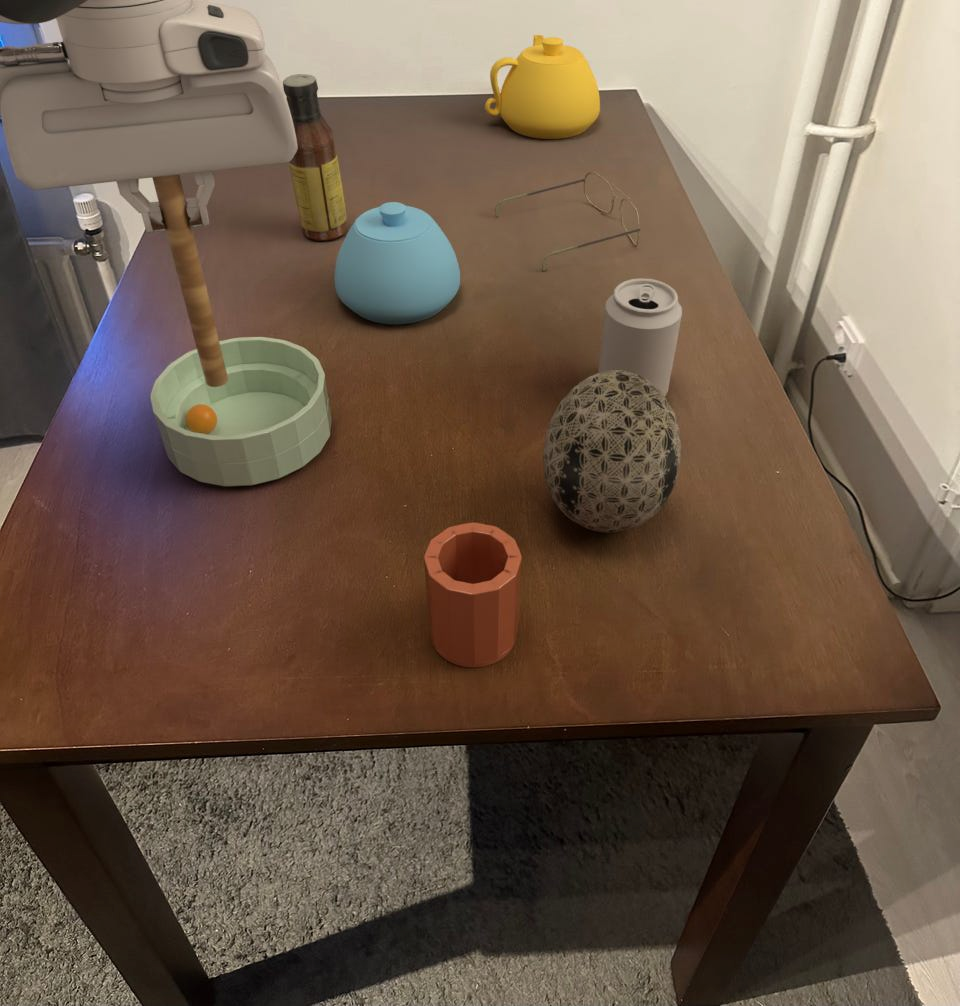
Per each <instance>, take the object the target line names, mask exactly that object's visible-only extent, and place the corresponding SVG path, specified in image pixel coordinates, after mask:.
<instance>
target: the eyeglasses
mask: <svg viewBox="0 0 960 1006" xmlns="http://www.w3.org/2000/svg"><path fill="white" fill-rule="evenodd" d="M590 174H593V175H596V176H598V178H600V179H602V180H603V181H604V182H605V183H606V184H607V185H608V187H609V188H610V190H611V193H612V199H611V202H610V203H611V204H612V205H611V209H610V211H605V210H603V209H602V208H600V207H598V206H596V205H595V204H594V203H593V202H592V201H591V200H590V199H589V197H588V196H587V191H586V181H587V177H588V175H590ZM579 183H583V193H584V197H585V199H586V201H587V202H588V203H589V204H590V205H591V206H593V208H596V209H597V210H599V211H600V212H602V213H604V214H611V213H612V212H613V210H614V205H615V198H617V199H618V200H619V201H621V202H620V206H619V208H618V210H620V218H621V219H620V220H621V224H622V226H623V229H624V231H625V232H621V233H618V234H614V235H611V236H608V237H604V238H601V239H597V240H593V241H590V242H586V243H582V244H578V245H574V246H570V247H566V248H562V249H559V250H556V251H552V252H549V253H547V254H546V255H545V256H544V258H543V260H542V262H541V265H542V266H541V270H542V272H546V271H547V263H546V262H547V260H548V259H549V258H550V257H552V256H556V255H559V254H562V253H566V252H569V251H573V250H577V249H580V248H583V247H587V246H590V245H594V244H598V243H602V242H605V241H609V240H613V239H616V238H618V237H619V238H620V237H623V236H628V238H629V239H630V240H631V242H632V244H633V246H635V247H638V245H639V243H640V231H641V228H640V217H639V212H638V209H637V207H636V206H635V205H634V204H633V203H632V201H631V198H630V197H628V196H627V195H626V194H625V193H624V192H623V191H621V189H619V188H618V187H617V186H616V185H615V184H613V183H612V181H608V180H607V179H606V178H604V177H603V176H602V175H601V174H599V173H597V172H594V171H589V172H587V173H586V174H585V175H584V178H582V179H578V180H574V181H571V182H566V183H562V184H559V185H555V186H551V187H546V188H544V189H540V190H536V191H533V192H532V191H531V192H528V193H522V194H519V195H515V196H511V197H508V198H505V199H501V200H500V201H498V202H497V203H496V205H495V207H494V217H495V218H499V217H500V213H499V207H500V205H502V204H503V203H506V202H511V201H514V200H518V199H522V198H527V197H529V196H534V195H537V194H541V193H544V192H548V191H552V190H557V189H560V188H563V187H568V186H571V185H575V184H579ZM612 186H613V187H614V188H615V189H616V190H618V191H619V192H620V193H621V194H623V196H624V197H626V198H622V199H621V198H620V197H619V196H618V195H615V193H614V192H615V191H614V189H613V187H612ZM624 201H627V202H628V203H629V204H630V205H631V206H632V208H633V209H634V211H635V213H636V218H637V229H633V230H629V231H628V230H627V228H626V226H625V223H624V217H623V204H625V202H624ZM634 233H637V242H635V240H634V239H633V238H632V236H631V234H634Z"/></svg>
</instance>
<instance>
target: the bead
mask: <svg viewBox="0 0 960 1006" xmlns="http://www.w3.org/2000/svg"><path fill="white" fill-rule="evenodd" d="M186 424H187V427H188V428H189V429H190V430H191V431H192V432H196V433H201V434H208V433H210V432H212V431H213V430H214V429H215V427H216V425H217V415H216V413H215V411H214V410H213V409H212V408H211V407H209V406H207V405H203V404H198V405H195V406H193V407H191V408H190V409H189V410H188V412H187V414H186Z"/></svg>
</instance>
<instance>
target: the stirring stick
mask: <svg viewBox="0 0 960 1006" xmlns="http://www.w3.org/2000/svg"><path fill="white" fill-rule="evenodd" d="M180 175H181V174H180ZM180 175H171V176H162V177H152V178H151V179H152V182H153V185H154V186H153V187H154V189H155V193H156V197H157V202H158V201H159V205H160V208H161V211H162V215H163V220H164V223H165V227H166V230H165V232H166V236H167V240H168V243H169V247H170V251H171V254H172V259H173V262H174V266H175V270H176V274H177V277H178V281H179V286H180V290H181V293H182V297H183V301H184V305H185V308H186V313H187V316H188V320H189V324H190V327H191V333H192V335H193V340H194V343H195V347H196V349H197V351H198V355H199V359H200V362H201V366H202V370H203V374H204V378H205V382H206V384H207V385H208V386H211V387H219V386H222V385H224V384H226V383H227V381H228V376H227V372H226V368H225V363H224V359H223V355H222V351H221V347H220V342H219V341H220V339H219V335H218V329H217V325H216V322H215V317H214V314H213V310H212V309H213V308H212V305H211V300H210V297H209V293H208V288H207V284H206V281H205V276H204V273H203V268H202V264H201V259H200V254H199V251H198V247H197V241H196V238H195V234H194V230H193V227H191V226H190V222H189V216H188V213H187V209H186V196H185V191H184V188H183V184H182V183H183V182H182V179H181V176H180Z"/></svg>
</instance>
